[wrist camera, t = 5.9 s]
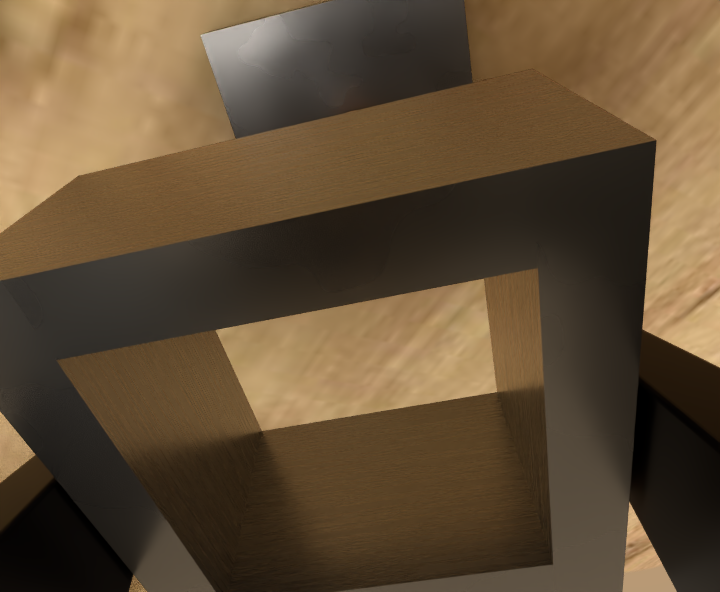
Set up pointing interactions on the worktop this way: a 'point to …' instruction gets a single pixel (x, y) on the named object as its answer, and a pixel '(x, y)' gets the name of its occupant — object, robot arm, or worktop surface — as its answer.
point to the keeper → (336, 59)
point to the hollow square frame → (331, 289)
